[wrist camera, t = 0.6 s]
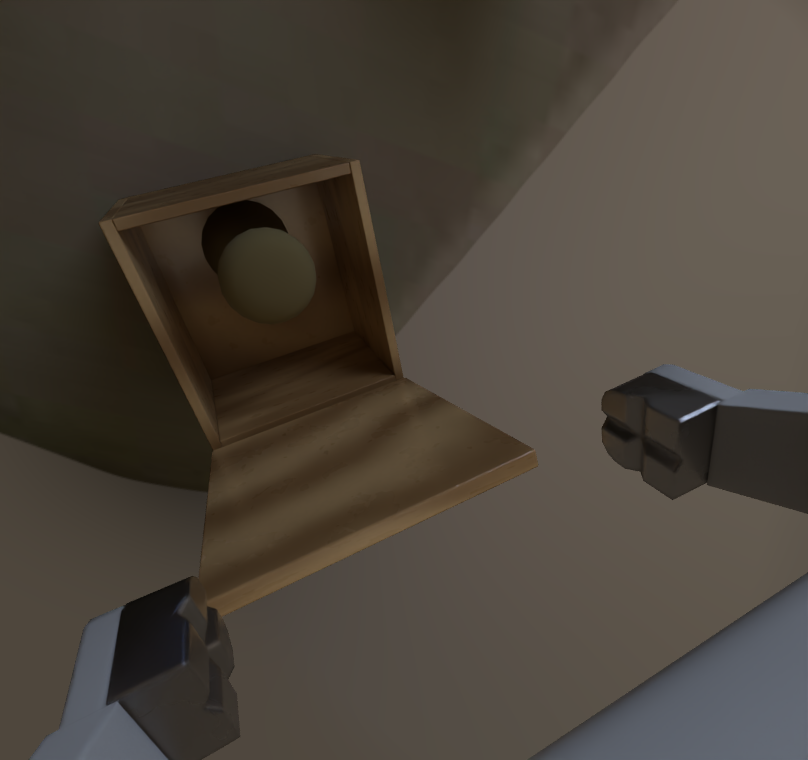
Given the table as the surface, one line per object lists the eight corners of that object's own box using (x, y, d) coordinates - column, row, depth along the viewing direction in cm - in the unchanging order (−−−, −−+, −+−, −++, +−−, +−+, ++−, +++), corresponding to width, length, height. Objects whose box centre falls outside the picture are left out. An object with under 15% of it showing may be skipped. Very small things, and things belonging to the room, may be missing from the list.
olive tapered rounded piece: (213, 185, 31) (229, 205, 22) (300, 218, 34) (345, 248, 25) (191, 272, 33) (197, 324, 24) (276, 296, 36) (310, 350, 27)
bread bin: (118, 199, 30) (97, 222, 22) (316, 153, 33) (359, 159, 25) (205, 385, 37) (213, 452, 29) (360, 332, 40) (404, 379, 33)
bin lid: (194, 607, 15) (203, 626, 15) (536, 448, 18) (539, 466, 19) (211, 450, 29) (216, 462, 29) (405, 376, 32) (408, 387, 32)
